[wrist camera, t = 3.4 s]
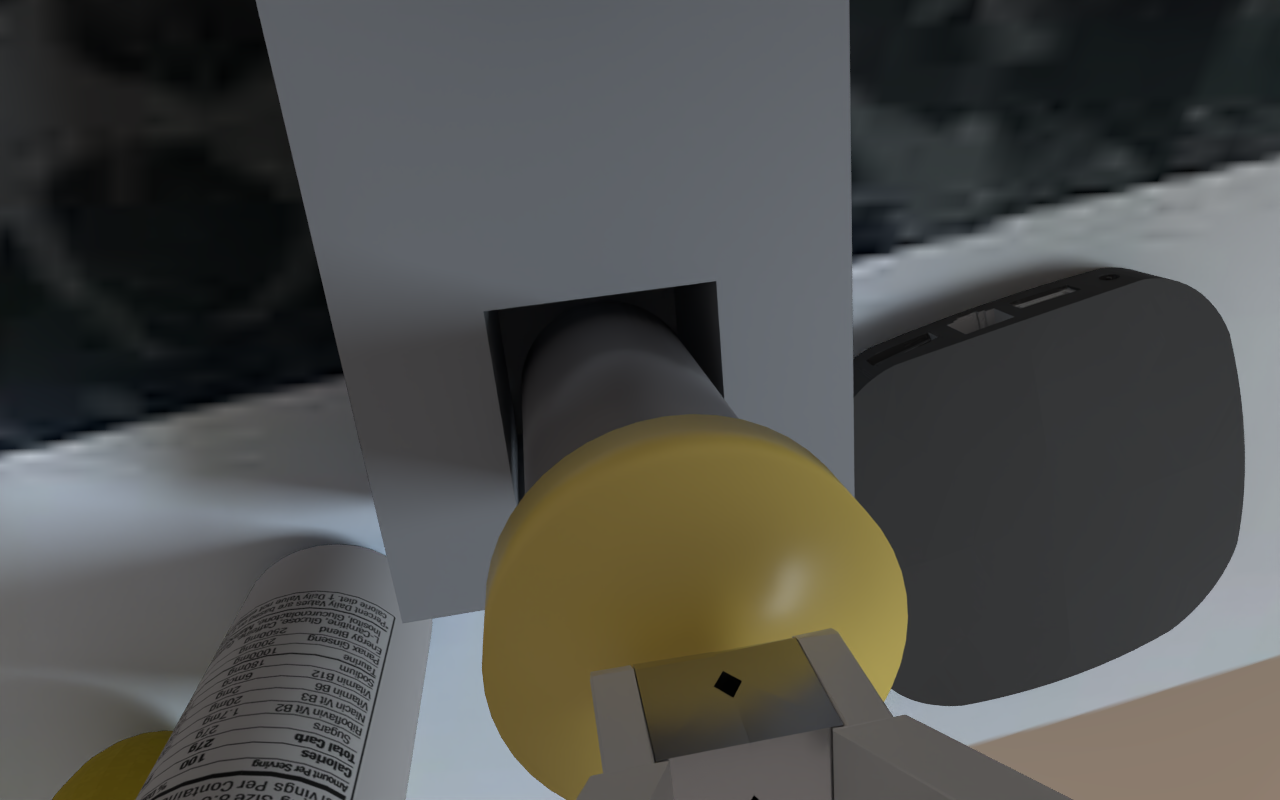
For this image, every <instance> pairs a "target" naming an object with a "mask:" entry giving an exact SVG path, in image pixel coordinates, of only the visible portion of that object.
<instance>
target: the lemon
mask: <svg viewBox="0 0 1280 800" xmlns="http://www.w3.org/2000/svg"><path fill="white" fill-rule="evenodd" d="M172 733H173V731H157V732H148V733H143V734H140V735H137V736H134V737H131V738H127V739H125V740H122V741H120V742H117V743H116V744H114V745H112V746H111V747H109V748H107V749H106V750H104V751H102V752H100V753H99V754H97V755H96V756H94V757H93V758H91V759H90V760H89V761H88V762H86V763H85V764H84V765H83V766H82V767H81V768H80V769H79V770H78V771H77V772H76V773H75V774H74V775H73V776H72V777H71V778H70V779H69V780H68V781H67V782H66V783H65V784H64V785H63V787H62V788H61V789H60V790H59V791H58V792H57V794H56V795H55V796H54V798H53V799H52V800H136V798H137V796H138V794H139V792H140V790H141V789H142V787H143V785H144V783H145V781H146V780H147V778H148V776H149V774H150V772H151V771H152V769H153V767H154V765H155V763H156V761H157V760H158V758H159V756H160V754H161V752H162V751H163V749H164V747H165V745H166V743H167V742H168V740H169V738H170V736H171V734H172Z"/></svg>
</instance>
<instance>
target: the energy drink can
mask: <svg viewBox="0 0 1280 800" xmlns="http://www.w3.org/2000/svg"><path fill="white" fill-rule="evenodd" d="M431 632H432V619H427V620H421V621H415V622H409V623H402V619H401V615H400V610H399V606H398V602H397V598H396V594H395V589H394V585H393V581H392V577H391V572H390V568H389V564H388V560H387V556H385V555H383V554H381V553H378V552H376V551H374V550H371V549H367V548H363V547H360V546H352V545H339V544H334V545H322V546H315V547H311V548H307V549H303V550H299V551H297V552H295V553H293V554H291V555H288V556H286V557H284V558H282V559H281V560H279V561H278V562H276V563H275V564H274V565H272V566H271V567H269V568H268V569H267V570H266V571H265V572H264V573H263V574H262V576H261V577H260V578H259V579H258V580H257V581H256V583H255V584H254V586H253V588H252V590H251V591H250V593H249V595H248V597H247V599H246V600H245V602H244V604H243V606H242V608H241V609H240V611H239V613H238V615H237V617H236V618H235V620H234V622H233V624H232V626H231V628H230V629H229V631H228V633H227V635H226V637H225V638H224V640H223V642H222V644H221V646H220V647H219V649H218V651H217V653H216V655H215V657H214V658H213V660H212V662H211V664H210V666H209V667H208V669H207V671H206V673H205V675H204V676H203V678H202V680H201V682H200V684H199V685H198V687H197V689H196V691H195V693H194V695H193V696H192V698H191V700H190V702H189V704H188V705H187V707H186V709H185V711H184V713H183V714H182V716H181V718H180V720H179V722H178V723H177V725H176V727H175V729H174V731H173V733H172V734H171V736H170V738H169V740H168V742H167V743H166V745H165V747H164V749H163V751H162V752H161V754H160V756H159V758H158V760H157V761H156V763H155V765H154V767H153V769H152V771H151V772H150V774H149V776H148V778H147V780H146V781H145V783H144V785H143V787H142V789H141V790H140V792H139V794H138V796H137V798H136V800H405V799H406V793H407V786H408V780H409V774H410V767H411V761H412V755H413V748H414V742H415V735H416V729H417V723H418V716H419V710H420V704H421V697H422V691H423V685H424V678H425V672H426V665H427V659H428V653H429V646H430V640H431Z"/></svg>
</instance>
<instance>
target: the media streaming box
mask: <svg viewBox="0 0 1280 800" xmlns="http://www.w3.org/2000/svg"><path fill="white" fill-rule="evenodd" d="M853 399H854V492H855V499H856V500H857V501H858V502H859V504H860V505H861V506H862V507H863V508H864V509H865V510H866V511H867V513H868V514H869V515H870V516H871V518H872V519H873V520H874V521H875V522H876V524H877V525H878V526H879V527H880V528H881V530H882V532H883V533H884V535H885V537H886V538H887V540H888V542H889V544H890V545H891V547H892V549H893V551H894V553H895V556H896V558H897V561H898V564H899V566H900V569H901V571H902V576H903V580H904V585H905V590H906V594H907V610H908V623H907V634H906V643H905V647H904V651H903V656H902V660H901V664H900V667H899V669H898V672H897V675H896V677H895V680H894V683H893V685H892V688H891V689H893V690H894V691H895V692H897V693H899V694H900V695H902V696H904V697H906V698H909V699H911V700H914V701H917V702H921V703H926V704H932V705H940V706H962V705H968V704H973V703H978V702H983V701H987V700H992V699H996V698H1000V697H1005V696H1009V695H1013V694H1016V693H1020V692H1024V691H1027V690H1031V689H1034V688H1038V687H1041V686H1044V685H1047V684H1051V683H1054V682H1057V681H1060V680H1063V679H1065V678H1068V677H1071V676H1074V675H1076V674H1079V673H1082V672H1084V671H1087V670H1089V669H1092V668H1095V667H1097V666H1100V665H1102V664H1104V663H1106V662H1109V661H1111V660H1113V659H1116V658H1118V657H1120V656H1122V655H1124V654H1126V653H1128V652H1131V651H1133V650H1135V649H1137V648H1139V647H1141V646H1143V645H1145V644H1146V643H1148V642H1150V641H1152V640H1154V639H1156V638H1158V637H1159V636H1161V635H1163V634H1165V633H1167V632H1168V631H1170V630H1171V629H1173V628H1174V627H1175V626H1177V625H1178V624H1179V623H1180V622H1181V621H1183V620H1184V619H1185V618H1186V617H1187V616H1188V615H1189V614H1190V613H1191V612H1192V611H1193V610H1194V609H1195V608H1196V607H1197V606H1198V605H1199V604H1200V603H1201V602H1202V601H1203V600H1204V599H1205V597H1206V596H1207V595H1208V594H1209V592H1210V591H1211V590H1212V588H1213V587H1214V586H1215V584H1216V583H1217V582H1218V580H1219V578H1220V577H1221V575H1222V574H1223V572H1224V570H1225V569H1226V567H1227V565H1228V563H1229V561H1230V559H1231V557H1232V555H1233V553H1234V550H1235V548H1236V545H1237V541H1238V535H1239V530H1240V523H1241V516H1242V507H1243V496H1244V477H1245V444H1244V426H1243V413H1242V404H1241V395H1240V388H1239V381H1238V374H1237V369H1236V363H1235V357H1234V352H1233V348H1232V343H1231V338H1230V334H1229V331H1228V329H1227V327H1226V324H1225V323H1224V321H1223V319H1222V317H1221V315H1220V314H1219V313H1218V311H1217V310H1216V308H1215V307H1214V306H1213V305H1212V304H1211V302H1210V301H1209V300H1208V299H1206V298H1205V297H1204V296H1203V295H1202V294H1201V293H1199V292H1198V291H1197V290H1195V289H1193V288H1192V287H1190V286H1188V285H1186V284H1183V283H1181V282H1178V281H1174V280H1170V279H1166V278H1162V277H1158V276H1154V275H1150V274H1146V273H1142V272H1138V271H1134V270H1130V269H1123V268H1103V269H1099V270H1095V271H1091V272H1088V273H1084V274H1080V275H1077V276H1074V277H1070V278H1067V279H1063V280H1060V281H1056V282H1053V283H1050V284H1046V285H1043V286H1040V287H1037V288H1033V289H1030V290H1027V291H1024V292H1021V293H1018V294H1015V295H1012V296H1008V297H1005V298H1002V299H999V300H996V301H994V302H991V303H988V304H985V305H982V306H979V307H976V308H973V309H970V310H967V311H965V312H962V313H959V314H956V315H954V316H951V317H948V318H945V319H943V320H940V321H937V322H935V323H932V324H929V325H927V326H924V327H922V328H919V329H916V330H914V331H911V332H909V333H906V334H904V335H901V336H899V337H896V338H894V339H891V340H889V341H886V342H884V343H881V344H879V345H877V346H874V347H872V348H869V349H868V350H866V351H865V352H863V353H861V354H860V355H859V356H857V357H856V358H855V359H853Z"/></svg>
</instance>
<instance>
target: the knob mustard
mask: <svg viewBox="0 0 1280 800" xmlns="http://www.w3.org/2000/svg"><path fill="white" fill-rule="evenodd" d="M521 391H522V421H523V451H524V481H525V495H524V497H523V498H522V499H521V501H520V502H519V504H518V505H517V507H516V508H515V509H514V511H513V512H512V514H511V515H510V517H509V519H508V521H507V523H506V525H505V527H504V528H503V530H502V532H501V534H500V536H499V538H498V541H497V544H496V547H495V550H494V553H493V555H492V558H491V562H490V567H489V572H488V577H487V583H486V599H485V617H484V635H483V656H482V674H483V682H484V691H485V696H486V699H487V703H488V706H489V710H490V713H491V717H492V719H493V721H494V723H495V725H496V727H497V729H498V731H499V734H500V736H501V738H502V739H503V741H504V742H505V744H506V745H507V747H508V748H509V750H510V751H511V753H512V754H513V756H514V757H515V758H516V759H517V760H518V761H519V762H520V764H521V765H522V766H523V767H524V768H525V769H526V770H527V771H528V772H529V773H530V774H531V775H532V776H533V777H534V778H536V779H537V780H538V781H539V782H541V783H542V784H543V785H544V786H546V787H547V788H548V789H549V790H551V791H553V792H554V793H556V794H558V795H559V796H561V797H563V798H565V799H566V800H576V799H577V797H578V795H579V794H580V792H581V790H582V789H583V787H584V786H585V784H586V782H587V781H588V779H589V777H590V776H593V775H597V774H602V773H603V769H602V762H601V755H600V748H599V741H598V734H597V726H596V719H595V712H594V705H593V698H592V691H591V684H590V672H593V671H599V670H605V669H610V668H616V667H622V666H628V665H631V667H632V668H633V664H639V663H645V662H651V661H658V660H664V659H670V658H677V657H683V656H689V655H696V654H702V653H708V652H718V651H723V650H729V649H734V648H739V647H745V646H750V645H755V644H761V643H766V642H772V641H777V640H782V639H788V638H792V636H796V635H801V634H805V633H810V632H815V631H820V630H824V629H829V628H832V629H834V630H836V631H838V632H839V634H840V635H841V637H842V639H843V640H844V642H845V643H846V645H847V646H848V648H849V649H850V651H851V652H852V654H853V655H854V657H855V659H856V660H857V662H858V663H859V665H860V666H861V668H862V669H863V671H864V672H865V674H866V676H867V677H868V679H869V680H870V682H871V683H872V685H873V686H874V688H875V689H876V691H877V692H878V694H879V696H880V697H881V699H882V700H883V702H884V701H885V699H886V697H887V695H888V693H889V691H890V689H891V688H892V685H893V683H894V680H895V677H896V675H897V672H898V669H899V667H900V664H901V660H902V656H903V651H904V647H905V643H906V634H907V623H908V610H907V594H906V590H905V585H904V580H903V576H902V571H901V569H900V566H899V564H898V561H897V558H896V556H895V553H894V551H893V549H892V547H891V545H890V544H889V542H888V540H887V538H886V537H885V535H884V533H883V532H882V530H881V528H880V527H879V526H878V525H877V524H876V522H875V521H874V520H873V519H872V518H871V516H870V515H869V514H868V513H867V511H866V510H865V509H864V508H863V507H862V506H861V505H860V504H859V502H858V501H857V500H856V499H855V498H854V497H853V496H852V495H851V493H850V492H849V491H848V490H847V489H846V488H845V487H844V486H843V485H842V483H841V482H840V481H839V480H838V479H837V478H836V477H835V476H834V475H833V473H832V472H831V471H830V470H829V469H828V468H827V467H826V466H825V465H824V464H823V463H822V462H821V461H820V460H819V459H818V458H816V457H815V456H814V455H813V454H812V453H811V452H810V451H809V450H807V449H806V448H804V447H803V446H801V445H800V444H798V443H797V442H795V441H794V440H792V439H790V438H789V437H787V436H785V435H783V434H781V433H778V432H776V431H774V430H772V429H770V428H768V427H765V426H762V425H759V424H756V423H752V422H749V421H746V420H743V419H739V418H738V417H737V416H736V414H735V413H734V412H733V410H732V409H731V408H730V406H729V405H728V404H727V402H726V401H725V400H724V398H723V397H722V396H721V394H720V393H719V392H718V390H717V389H716V388H715V386H714V385H713V384H712V382H711V381H710V380H709V378H708V377H707V376H706V374H705V373H704V372H703V370H702V369H701V368H700V366H699V365H698V364H697V362H696V361H695V360H694V358H693V357H692V356H691V354H690V353H689V352H688V350H687V349H686V348H685V346H684V345H683V344H682V342H681V341H680V340H679V338H678V337H677V336H676V334H675V333H674V332H673V331H672V330H671V328H670V327H669V326H668V325H667V324H666V323H665V322H664V321H663V320H661V319H660V318H659V317H657V316H656V315H654V314H653V313H651V312H650V311H648V310H646V309H644V308H642V307H639V306H636V305H633V304H629V303H624V302H618V301H599V302H593V303H588V304H584V305H581V306H578V307H575V308H573V309H571V310H569V311H567V312H564V313H563V314H561V315H560V316H558V317H557V318H555V319H554V320H553V321H552V322H551V323H549V324H548V325H547V326H546V327H545V328H544V329H543V330H542V332H541V333H540V334H539V335H538V336H537V338H536V339H535V341H534V342H533V344H532V346H531V348H530V350H529V352H528V354H527V357H526V360H525V363H524V367H523V372H522V382H521Z"/></svg>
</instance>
